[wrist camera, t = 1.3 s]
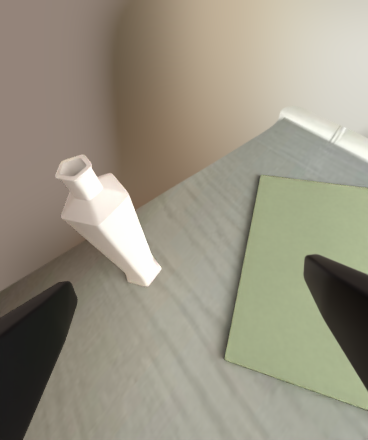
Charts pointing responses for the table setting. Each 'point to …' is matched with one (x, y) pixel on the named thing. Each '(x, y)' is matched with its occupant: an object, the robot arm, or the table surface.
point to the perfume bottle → (106, 219)
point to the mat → (297, 284)
